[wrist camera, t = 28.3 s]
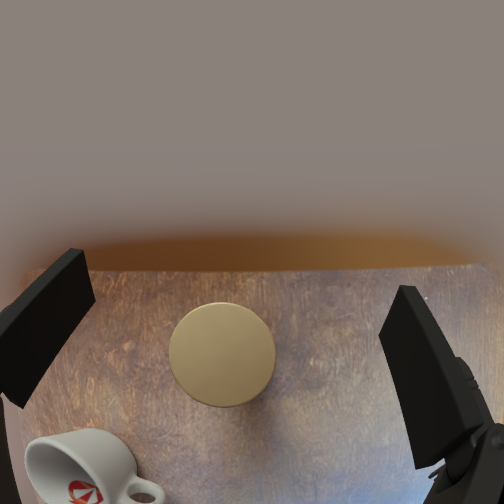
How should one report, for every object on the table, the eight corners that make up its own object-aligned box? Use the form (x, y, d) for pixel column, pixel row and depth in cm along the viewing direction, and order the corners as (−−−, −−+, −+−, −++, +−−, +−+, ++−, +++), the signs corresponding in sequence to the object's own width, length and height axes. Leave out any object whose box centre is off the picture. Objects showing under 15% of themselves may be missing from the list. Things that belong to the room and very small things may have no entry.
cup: (184, 445, 19) (154, 487, 11) (175, 511, 17) (150, 558, 9) (75, 405, 20) (20, 419, 12) (74, 470, 17) (28, 496, 10)
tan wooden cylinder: (216, 335, 22) (151, 327, 8) (251, 319, 22) (247, 283, 8) (233, 369, 21) (196, 423, 7) (267, 353, 22) (295, 380, 7)
